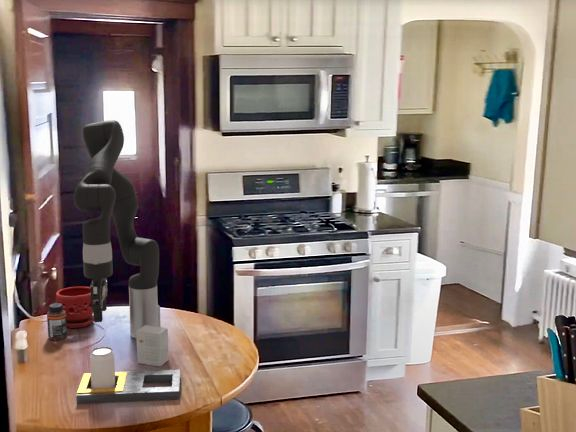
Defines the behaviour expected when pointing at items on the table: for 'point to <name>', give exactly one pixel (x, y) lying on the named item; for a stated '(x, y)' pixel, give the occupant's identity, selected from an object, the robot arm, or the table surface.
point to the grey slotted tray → (131, 387)
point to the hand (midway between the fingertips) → (100, 316)
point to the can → (102, 368)
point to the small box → (152, 345)
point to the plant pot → (76, 306)
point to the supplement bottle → (56, 322)
